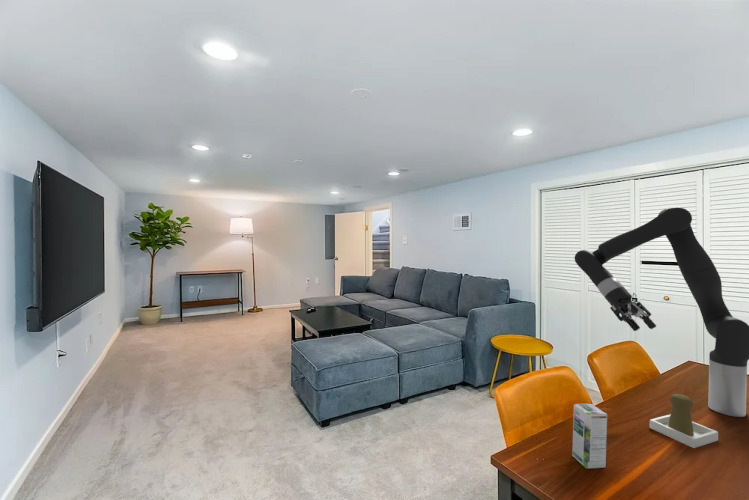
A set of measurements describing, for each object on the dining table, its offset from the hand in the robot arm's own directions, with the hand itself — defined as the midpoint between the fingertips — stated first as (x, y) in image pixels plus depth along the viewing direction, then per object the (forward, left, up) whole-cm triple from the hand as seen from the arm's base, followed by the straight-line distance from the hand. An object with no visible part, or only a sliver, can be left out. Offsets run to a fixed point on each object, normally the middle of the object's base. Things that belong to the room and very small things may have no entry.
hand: (645, 328), depth 121 cm
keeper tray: (+6, +15, -29) cm, 33 cm away
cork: (+6, +14, -28) cm, 32 cm away
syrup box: (+46, +15, -29) cm, 56 cm away
